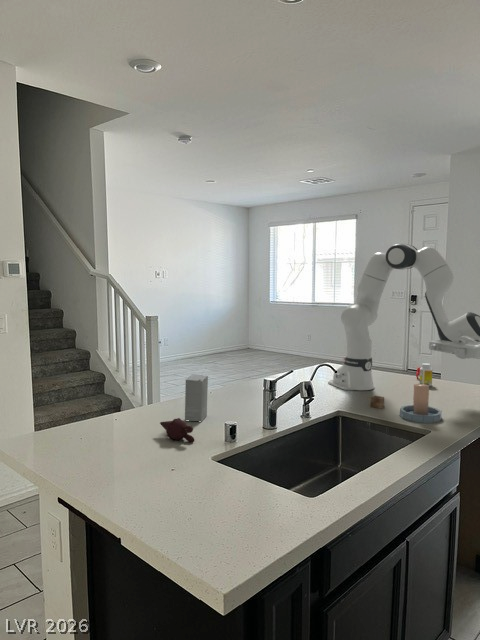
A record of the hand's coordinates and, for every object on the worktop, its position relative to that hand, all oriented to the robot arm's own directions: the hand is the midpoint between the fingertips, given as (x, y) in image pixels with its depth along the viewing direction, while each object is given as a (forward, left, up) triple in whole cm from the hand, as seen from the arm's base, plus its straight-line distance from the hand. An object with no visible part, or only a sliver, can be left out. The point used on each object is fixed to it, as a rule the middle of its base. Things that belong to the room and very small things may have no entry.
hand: (442, 349), depth 178 cm
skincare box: (-42, -83, -24) cm, 96 cm away
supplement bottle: (-32, +33, -24) cm, 52 cm away
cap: (-41, +43, -24) cm, 64 cm away
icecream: (-26, -98, -24) cm, 104 cm away
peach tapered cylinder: (0, -12, -23) cm, 26 cm away
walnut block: (-18, -15, -24) cm, 33 cm away
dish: (0, -12, -24) cm, 27 cm away
